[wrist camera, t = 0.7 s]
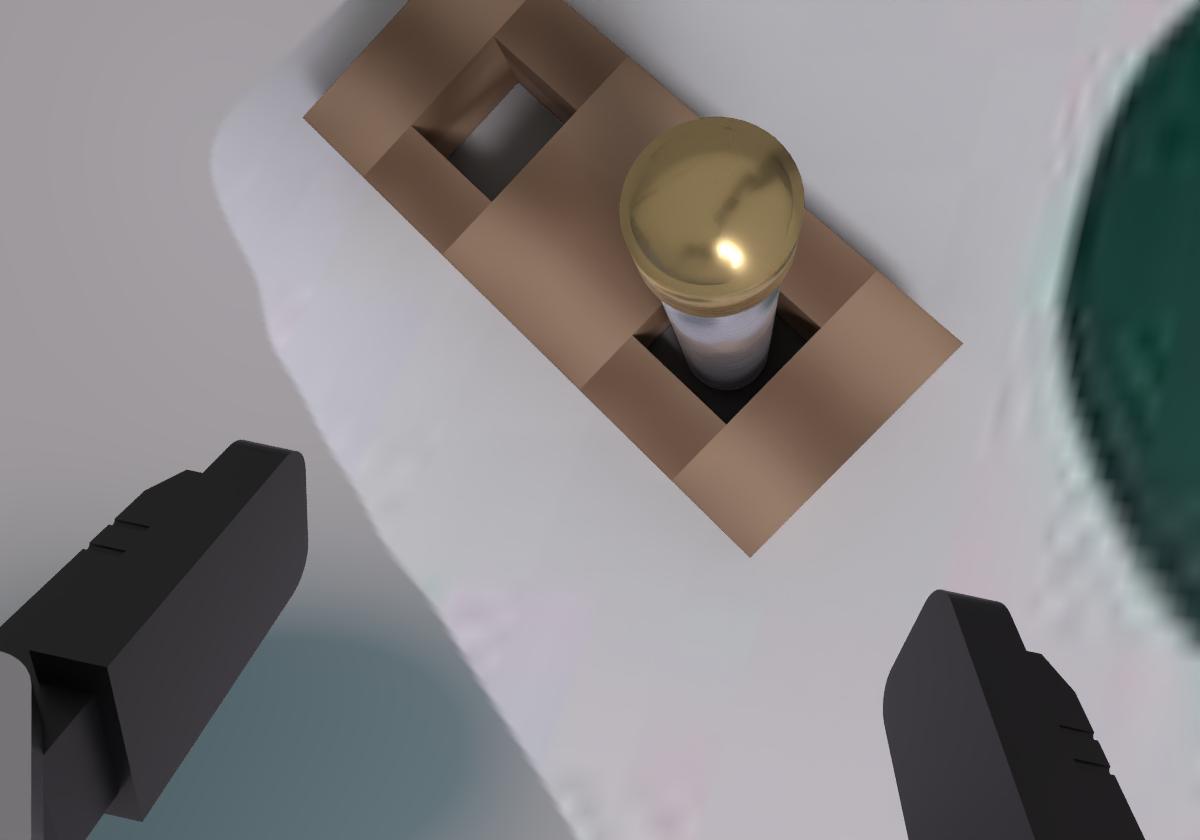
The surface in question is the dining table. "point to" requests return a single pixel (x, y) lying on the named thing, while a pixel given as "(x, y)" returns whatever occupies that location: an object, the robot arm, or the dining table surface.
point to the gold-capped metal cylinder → (715, 239)
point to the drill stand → (618, 252)
